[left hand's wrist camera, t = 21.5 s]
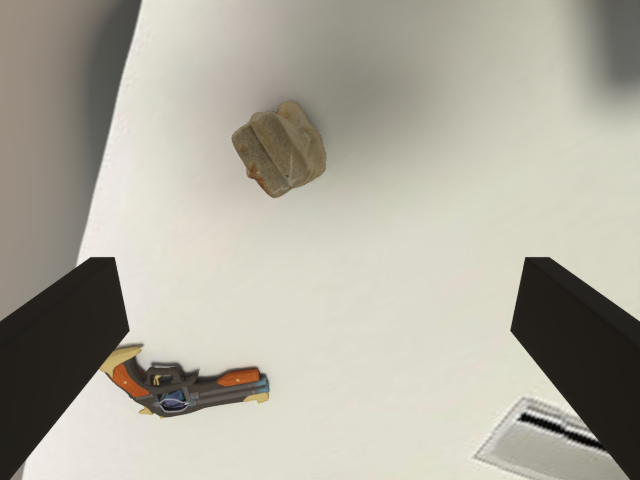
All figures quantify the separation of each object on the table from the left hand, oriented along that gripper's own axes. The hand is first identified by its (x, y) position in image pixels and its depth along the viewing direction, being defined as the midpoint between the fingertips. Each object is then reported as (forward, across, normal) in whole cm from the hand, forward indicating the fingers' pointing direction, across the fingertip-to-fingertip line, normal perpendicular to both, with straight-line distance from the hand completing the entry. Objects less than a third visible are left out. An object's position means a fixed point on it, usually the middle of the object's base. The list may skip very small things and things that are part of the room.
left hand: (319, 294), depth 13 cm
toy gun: (+28, -16, -26) cm, 41 cm away
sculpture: (+28, -2, +2) cm, 28 cm away
